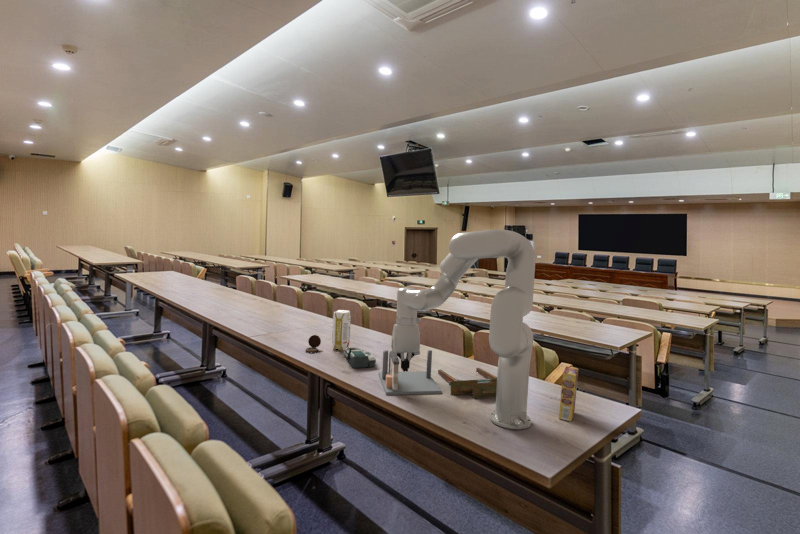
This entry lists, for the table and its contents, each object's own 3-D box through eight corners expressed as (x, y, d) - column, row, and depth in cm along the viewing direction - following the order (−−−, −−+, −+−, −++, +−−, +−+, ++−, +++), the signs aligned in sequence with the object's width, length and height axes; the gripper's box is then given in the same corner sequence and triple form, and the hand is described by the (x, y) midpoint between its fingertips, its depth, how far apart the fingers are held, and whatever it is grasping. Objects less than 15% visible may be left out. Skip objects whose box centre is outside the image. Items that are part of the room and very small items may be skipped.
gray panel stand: (441, 393, 148) (443, 361, 147) (386, 394, 144) (387, 361, 143) (426, 373, 169) (428, 345, 169) (378, 374, 166) (379, 345, 165)
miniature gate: (487, 363, 176) (526, 382, 147) (487, 376, 176) (526, 397, 147) (429, 366, 169) (458, 386, 140) (429, 379, 169) (458, 402, 140)
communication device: (364, 353, 198) (365, 335, 197) (376, 368, 175) (377, 348, 175) (339, 354, 194) (340, 336, 193) (349, 369, 171) (350, 349, 171)
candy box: (572, 422, 128) (576, 375, 127) (558, 419, 130) (561, 372, 129) (575, 412, 136) (578, 368, 135) (561, 409, 138) (564, 365, 137)
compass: (303, 352, 193) (303, 337, 192) (309, 348, 201) (309, 334, 200) (319, 354, 192) (320, 339, 191) (324, 349, 200) (325, 335, 199)
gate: (388, 376, 160) (389, 349, 159) (393, 376, 160) (394, 350, 159) (392, 390, 145) (393, 361, 144) (398, 390, 145) (399, 361, 144)
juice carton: (350, 347, 206) (352, 310, 205) (345, 351, 198) (346, 313, 196) (336, 345, 207) (337, 309, 206) (330, 350, 199) (331, 312, 198)
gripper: (423, 319, 153) (422, 366, 154) (384, 319, 151) (383, 367, 152) (428, 323, 146) (427, 373, 147) (388, 323, 143) (386, 374, 144)
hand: (405, 370), depth 149 cm, fingers closed
